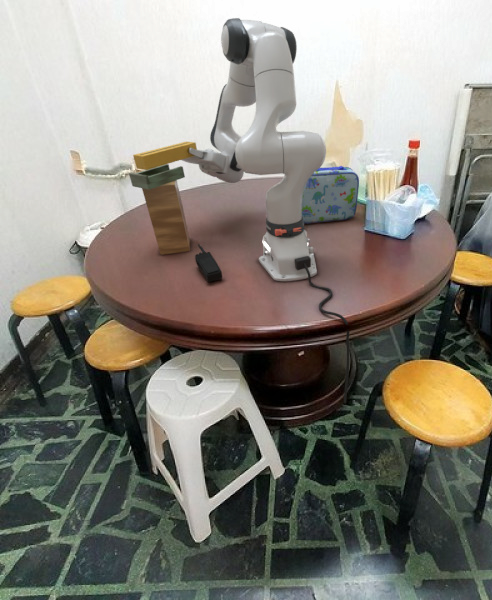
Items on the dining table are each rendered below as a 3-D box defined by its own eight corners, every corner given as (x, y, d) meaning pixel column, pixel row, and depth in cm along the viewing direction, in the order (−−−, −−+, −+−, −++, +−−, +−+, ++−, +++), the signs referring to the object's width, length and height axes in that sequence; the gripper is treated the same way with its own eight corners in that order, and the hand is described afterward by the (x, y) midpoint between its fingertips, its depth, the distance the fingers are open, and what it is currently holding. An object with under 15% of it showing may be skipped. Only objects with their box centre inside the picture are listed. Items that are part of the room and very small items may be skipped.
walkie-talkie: (200, 280, 104) (182, 249, 117) (216, 288, 108) (197, 257, 121) (213, 264, 103) (192, 234, 116) (228, 273, 107) (207, 243, 120)
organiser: (177, 235, 136) (159, 161, 120) (204, 242, 130) (189, 166, 114) (146, 250, 125) (122, 172, 110) (173, 259, 119) (152, 177, 104)
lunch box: (350, 211, 153) (353, 161, 141) (358, 220, 144) (363, 167, 132) (292, 217, 149) (290, 165, 137) (296, 226, 140) (295, 173, 128)
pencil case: (188, 153, 124) (186, 141, 121) (197, 154, 122) (195, 142, 120) (136, 168, 108) (132, 154, 106) (146, 170, 107) (142, 156, 104)
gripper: (191, 151, 135) (163, 137, 122) (233, 156, 126) (206, 142, 114) (188, 167, 136) (160, 155, 123) (229, 174, 127) (203, 161, 115)
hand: (182, 149), depth 118 cm, fingers closed on pencil case, 4 cm apart
